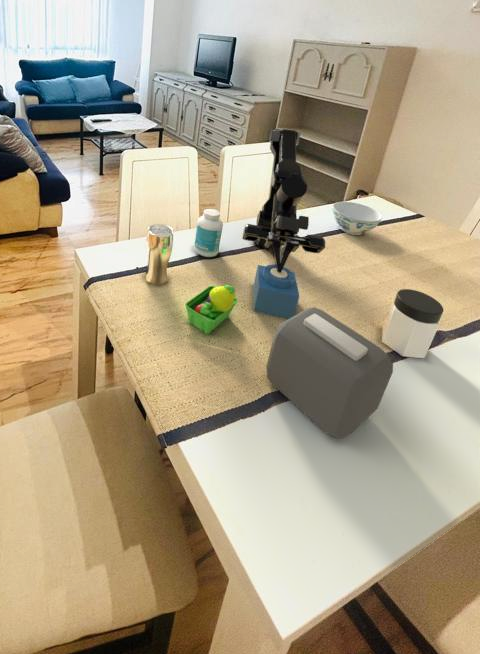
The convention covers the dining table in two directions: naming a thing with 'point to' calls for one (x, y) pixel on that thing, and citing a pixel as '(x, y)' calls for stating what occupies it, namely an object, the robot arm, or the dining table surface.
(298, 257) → the dining table surface
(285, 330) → the alarm clock
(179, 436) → the dining table surface
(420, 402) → the dining table surface
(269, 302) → the soap bottle
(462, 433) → the dining table surface
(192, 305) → the fruit basket
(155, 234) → the beer glass
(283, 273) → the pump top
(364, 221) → the chinaware
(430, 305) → the jar
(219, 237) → the pill bottle
